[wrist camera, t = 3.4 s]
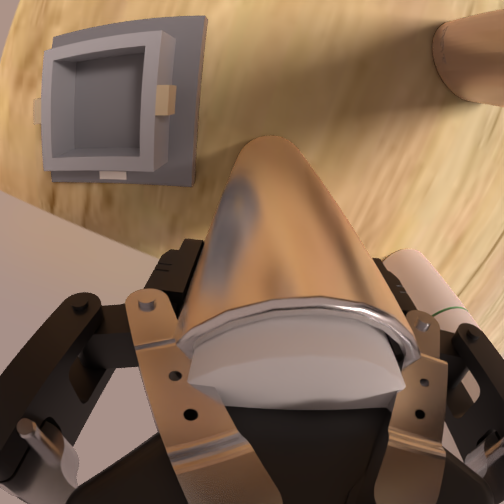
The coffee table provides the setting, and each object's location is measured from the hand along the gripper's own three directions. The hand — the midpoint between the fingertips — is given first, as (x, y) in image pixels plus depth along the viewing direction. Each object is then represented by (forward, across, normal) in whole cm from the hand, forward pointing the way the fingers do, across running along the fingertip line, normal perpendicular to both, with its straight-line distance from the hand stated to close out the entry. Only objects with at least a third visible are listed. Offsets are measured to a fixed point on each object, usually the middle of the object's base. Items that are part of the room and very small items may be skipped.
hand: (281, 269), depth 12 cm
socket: (+18, +15, -6) cm, 24 cm away
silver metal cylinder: (+18, 0, 0) cm, 18 cm away
